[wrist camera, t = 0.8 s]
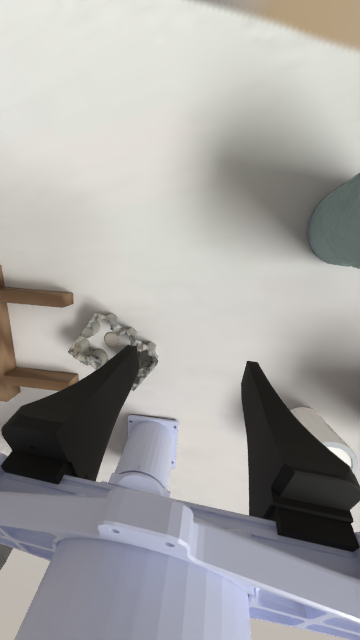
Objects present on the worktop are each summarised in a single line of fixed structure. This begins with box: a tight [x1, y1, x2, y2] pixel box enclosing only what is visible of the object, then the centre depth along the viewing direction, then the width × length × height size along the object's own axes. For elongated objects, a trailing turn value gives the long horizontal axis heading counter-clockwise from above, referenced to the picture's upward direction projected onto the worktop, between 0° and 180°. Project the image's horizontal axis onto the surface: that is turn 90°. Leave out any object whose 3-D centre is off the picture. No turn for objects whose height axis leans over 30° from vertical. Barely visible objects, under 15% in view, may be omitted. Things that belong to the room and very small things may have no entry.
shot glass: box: [290, 407, 358, 474], centre depth 29 cm, size 7×7×7 cm
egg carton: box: [68, 312, 158, 391], centre depth 30 cm, size 11×8×4 cm
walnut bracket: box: [0, 265, 78, 402], centre depth 31 cm, size 20×12×2 cm, turn 176°
